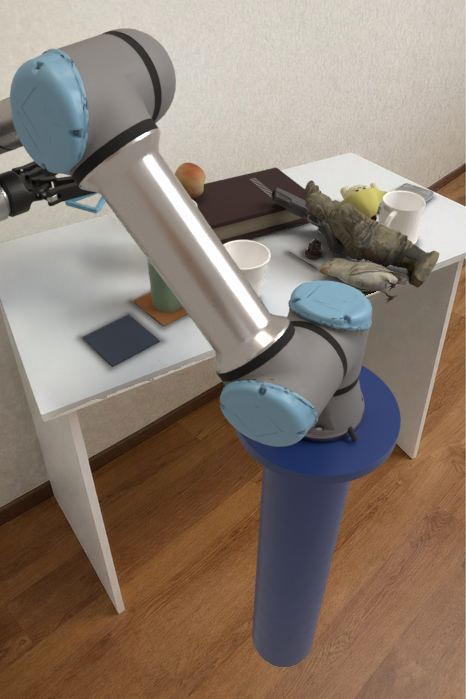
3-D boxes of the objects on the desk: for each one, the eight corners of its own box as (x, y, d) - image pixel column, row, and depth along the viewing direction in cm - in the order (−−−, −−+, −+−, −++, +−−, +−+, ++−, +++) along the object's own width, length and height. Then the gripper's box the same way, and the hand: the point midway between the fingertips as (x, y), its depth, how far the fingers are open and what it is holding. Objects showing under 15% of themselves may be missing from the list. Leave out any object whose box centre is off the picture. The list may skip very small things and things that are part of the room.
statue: (406, 298, 124) (283, 227, 125) (428, 260, 125) (305, 190, 126) (423, 289, 113) (288, 211, 114) (447, 248, 114) (312, 171, 115)
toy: (376, 172, 142) (401, 188, 129) (379, 200, 145) (404, 217, 132) (323, 188, 142) (342, 205, 129) (327, 215, 145) (347, 234, 132)
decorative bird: (316, 283, 120) (334, 267, 125) (390, 308, 112) (406, 291, 117) (318, 259, 117) (336, 244, 121) (394, 284, 109) (410, 267, 114)
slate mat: (160, 341, 106) (160, 340, 106) (112, 366, 101) (112, 365, 101) (128, 315, 111) (128, 314, 111) (82, 338, 106) (82, 336, 106)
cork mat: (205, 304, 114) (205, 303, 114) (163, 326, 109) (163, 325, 109) (174, 282, 119) (174, 280, 119) (133, 301, 114) (133, 300, 114)
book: (271, 186, 150) (273, 164, 146) (314, 221, 137) (316, 198, 133) (170, 211, 140) (168, 188, 137) (205, 251, 128) (205, 227, 124)
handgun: (267, 224, 122) (269, 195, 130) (346, 260, 126) (344, 230, 135) (273, 213, 120) (275, 184, 129) (354, 250, 124) (351, 220, 133)
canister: (192, 303, 114) (189, 259, 107) (165, 316, 111) (161, 272, 104) (172, 288, 117) (168, 244, 111) (145, 301, 114) (140, 257, 107)
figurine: (315, 268, 123) (317, 251, 120) (288, 252, 127) (289, 236, 125) (333, 259, 126) (335, 242, 123) (305, 243, 130) (307, 227, 127)
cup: (275, 294, 116) (278, 246, 109) (256, 323, 110) (258, 274, 102) (229, 282, 119) (229, 234, 112) (208, 309, 113) (207, 261, 105)
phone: (434, 196, 147) (435, 192, 146) (403, 221, 138) (404, 216, 137) (404, 187, 151) (405, 182, 150) (372, 210, 142) (373, 205, 141)
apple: (198, 205, 128) (163, 195, 128) (201, 203, 136) (167, 193, 135) (208, 168, 126) (171, 157, 125) (210, 167, 133) (176, 157, 133)
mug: (393, 223, 137) (401, 186, 131) (425, 240, 132) (434, 202, 125) (358, 240, 131) (364, 202, 125) (390, 258, 126) (398, 219, 120)
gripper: (-21, 196, 112) (82, 161, 124) (35, 239, 101) (142, 196, 112) (-32, 158, 107) (76, 125, 119) (24, 199, 96) (138, 158, 107)
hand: (108, 160), depth 115 cm, fingers closed on chair, 8 cm apart
